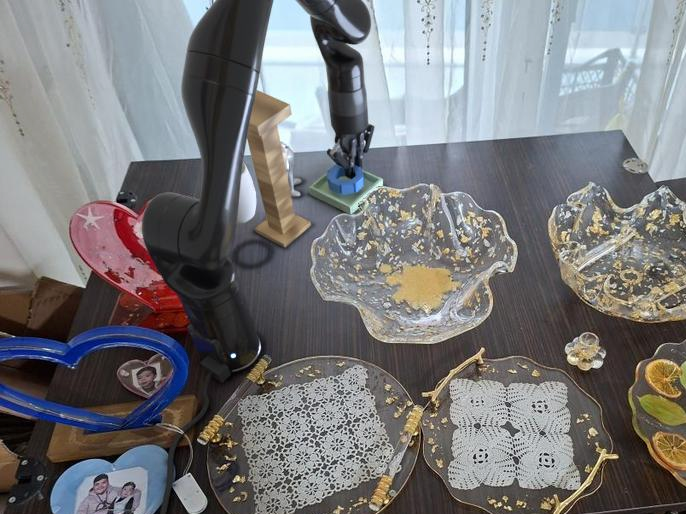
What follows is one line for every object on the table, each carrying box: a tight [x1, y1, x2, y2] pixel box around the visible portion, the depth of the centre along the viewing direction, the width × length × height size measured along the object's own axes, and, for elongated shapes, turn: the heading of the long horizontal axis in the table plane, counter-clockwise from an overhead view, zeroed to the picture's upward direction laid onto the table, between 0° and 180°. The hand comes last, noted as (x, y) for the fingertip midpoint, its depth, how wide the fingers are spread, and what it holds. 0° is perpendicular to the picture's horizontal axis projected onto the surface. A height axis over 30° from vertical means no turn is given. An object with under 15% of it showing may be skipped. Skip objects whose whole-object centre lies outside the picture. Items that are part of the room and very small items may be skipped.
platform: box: [247, 89, 312, 249], centre depth 115 cm, size 8×8×28 cm
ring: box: [326, 164, 364, 195], centre depth 131 cm, size 8×8×2 cm
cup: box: [237, 161, 257, 224], centre depth 113 cm, size 7×7×21 cm
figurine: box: [280, 141, 302, 198], centre depth 129 cm, size 7×4×12 cm, turn 4°
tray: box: [308, 169, 384, 215], centre depth 133 cm, size 11×11×2 cm
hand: (354, 175), depth 133 cm, fingers closed on ring, 1 cm apart
